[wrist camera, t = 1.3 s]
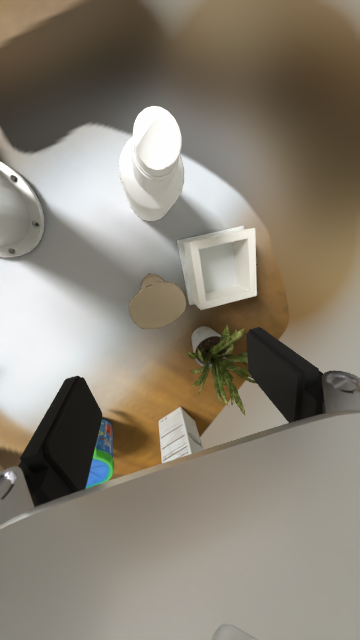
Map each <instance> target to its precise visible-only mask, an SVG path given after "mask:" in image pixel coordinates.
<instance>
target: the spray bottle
mask: <svg viewBox="0 0 360 640" xmlns="http://www.w3.org/2000/svg"><path fill="white" fill-rule="evenodd" d="M180 149H181V133H180V129H179V126H178V124H177V122H176V120H175V118H174V117H173V116H172V115H171V114H170V113H169V112H168V111H167V110H165V109H163V108H161V107H156V106H151V107H148V108H145V109H144V110H143V111H142V112H141V113H140V114H139V115H138V117H137V119H136V121H135V123H134V128H133V137H132V138H131V139H130V140H128V141H127V143H126V145H125V147H124V149H123V150H122V152H121V156H120V162H119V171H120V179H121V182H122V185H123V188H124V191H125V194H126V197H127V200H128V202H129V205H130V207H131V209H132V210H133V212H134V213H135V214H136V215H137V216H138V217H140V218H141V219H143V220H146V221H156V220H159V219H161V218H162V217H163V216H164V215H166V213H167V212H168V211H169V210H170V208H171V207H172V206H173V204H174V203H175V202H176V200H177V199H178V197H179V195H180V194H181V191H182V188H183V184H184V167H183V163H182V159H181V156H180Z"/></svg>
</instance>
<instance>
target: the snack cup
mask: <svg viewBox="0 0 360 640" xmlns="http://www.w3.org/2000/svg"><path fill="white" fill-rule="evenodd" d="M112 429H113V428H112V424H111V423H110V422H108V421H107V420H105V419H102V422H101V426H100V430H99V434H98V439H97V443H96V447H95V451H94V455H93V460H92V464H91V468H90V472H89V477H88V481H87V485H86V488H89V487H92V486H95V485H98V484H101V483H104V482H107V481H108V480H109V479H110V478H111V476H112V474H113V471H114V460H113V432H112Z"/></svg>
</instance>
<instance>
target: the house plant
mask: <svg viewBox="0 0 360 640" xmlns="http://www.w3.org/2000/svg"><path fill="white" fill-rule="evenodd" d="M244 330H245V328H244V329H242V330H240V331H239V332H238V333H237V330H236V331H235V332H234V333H232V334H231V336H230V337H229V335H230V332H229V329H228V326H227V327H226V328H225V329H224V330H223V332H222V335H220V334H218V333H217V332H215V331H214V330H212V329H211V328H209V327H207V326H202V327H199V328H197V329H196V330H195V331H194V332H193V334H192V337H191V339H192V345H193V351H194V353H189V352H188V355H189V357H190V358H192V359H194V358H195V359H196V361H197V362H198V364H200V365H202V366H203V367H201V368H199V369H195V370H192V371H191V372H193V373H195V374H199V373H201V372H203V371H204V372H203V373H202V375H201V376H200V377H199V379H198V380H197V381H196V382H195V384H193V385H196V386H197V385H200V384H201V383H202V382H203V383H202V386H201V388H200V391H201V389H202V387H203V385H204V382H205V380H206V377H207V375H208V371H209V367H212V373H213V378H214V384H215V390H216V393H217V396H218V399H219V401H220V403H221V405H222V400H221V394H222V397H223V399H224V401H225V403H226V404H227V405H228V402H227V400H226V394H225V392H224V388H223V385H227V388H229V391H230V395H231V404H233V401H234V400H235V402H236V404H237V405H238V407H239V408H240V409H241V411H242V413H243V414H244V415H245V411H244V407H243V404H242V401H241V399H240V396H239V394H238V391H237V389H236V387H235V385H234V384H233V383H232V380H233V377H232V375H231V374H230V373H229V372H228V370H232V371H234V372H235V373H237V374H238V375H240V376H241V377H242V378H244V379H245V380H247V381H249V382H252V383H256V381H253V380H251V379H249V378H247V377H246V376H244V375H243V374H245V375H247V376H249V377H251V375H250V373H249V371H247V370H245V369H243V368H240V367H238V366H236V365H234V364H232V363H230V362H242V363H244V364H248V356H247V352H244V353H242V354H240V355H229V354H231V353H232V350H233V345H234V344H235V342H236V341H238V340H239V339H240V338H241V337H242V336H243V335H244V333H243V334H242V332H243V331H244ZM241 334H242V335H241ZM226 358H229V359H226ZM228 361H230V362H228ZM236 370H238V371H240V372H241V373H243V374H241V373H240V372H238V371H236ZM251 378H252V377H251ZM222 384H223V385H222ZM219 387H220V388H219ZM200 391H199V393H200ZM220 391H221V392H220ZM199 393H198V394H199ZM222 407H223V406H222Z"/></svg>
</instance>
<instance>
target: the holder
mask: <svg viewBox="0 0 360 640" xmlns="http://www.w3.org/2000/svg"><path fill="white" fill-rule="evenodd" d="M177 245H178V250H179V255H180V260H181V266H182V271H183V276H184V281H185V287H186V292H187V297H188V302H189V305H194V304H196V305H197V307H198V308H199V309H200V310H204V309H207V308H211V307H215V306H219V305H223V304H227V303H230V302H234V301H238V300H242V299H246V298H250V297H254V296H257V282H256V246H255V228H251V229H244V227H243V226H240V227H235V228H231V229H226V230H222V231H217V232H213V233H208V234H204V235H199V236H195V237H190V238H186V239H181V240H177Z"/></svg>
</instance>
